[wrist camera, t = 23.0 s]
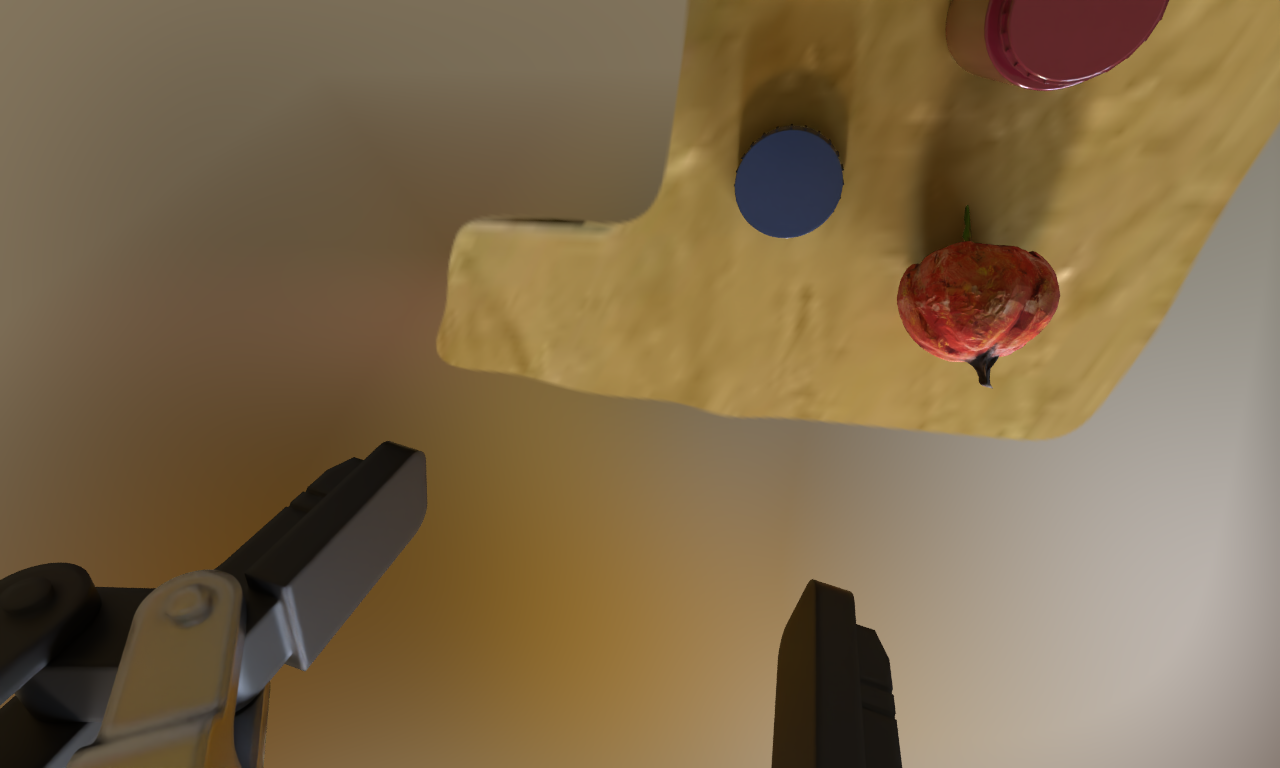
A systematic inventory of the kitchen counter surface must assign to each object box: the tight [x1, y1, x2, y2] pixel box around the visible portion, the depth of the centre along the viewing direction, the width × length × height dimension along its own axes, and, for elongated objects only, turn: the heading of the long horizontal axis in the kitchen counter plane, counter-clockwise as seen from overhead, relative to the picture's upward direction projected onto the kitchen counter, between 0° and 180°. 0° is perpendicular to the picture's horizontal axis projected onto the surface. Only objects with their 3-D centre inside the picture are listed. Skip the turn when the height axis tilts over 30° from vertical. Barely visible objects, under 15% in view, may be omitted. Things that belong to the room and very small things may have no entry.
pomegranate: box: [897, 205, 1060, 388], centre depth 31 cm, size 7×7×10 cm
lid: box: [734, 124, 844, 238], centre depth 33 cm, size 6×6×2 cm
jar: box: [946, 0, 1169, 91], centre depth 24 cm, size 5×5×10 cm
